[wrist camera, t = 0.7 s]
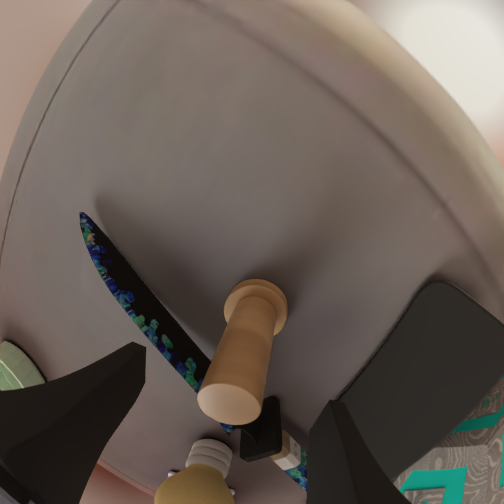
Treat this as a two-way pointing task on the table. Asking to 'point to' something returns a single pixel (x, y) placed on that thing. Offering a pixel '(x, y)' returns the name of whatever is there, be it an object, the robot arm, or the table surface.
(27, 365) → the bowl
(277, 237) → the table surface
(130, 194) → the table surface
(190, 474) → the light bulb
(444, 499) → the sculpture
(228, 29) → the table surface
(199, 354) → the knife
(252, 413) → the pestle
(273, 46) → the table surface
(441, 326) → the smartphone
